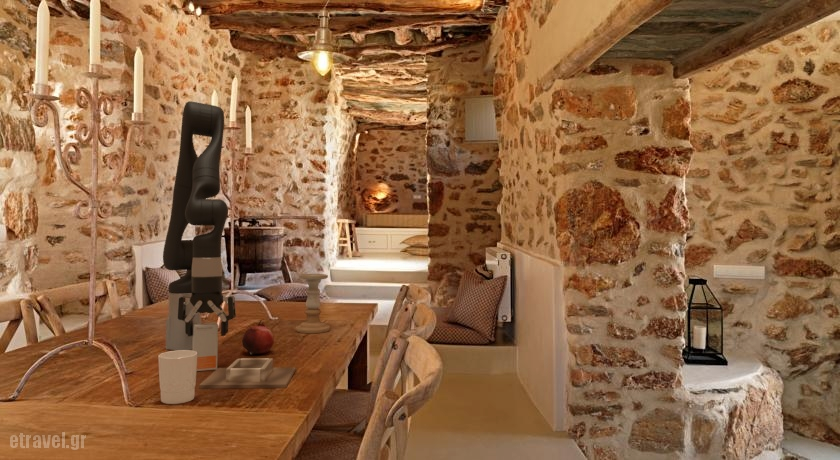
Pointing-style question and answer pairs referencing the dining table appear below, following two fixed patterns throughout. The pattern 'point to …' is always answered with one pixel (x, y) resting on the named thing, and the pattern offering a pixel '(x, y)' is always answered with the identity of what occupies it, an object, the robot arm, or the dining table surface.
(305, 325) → the candle holder
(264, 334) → the fruit
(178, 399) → the white cup
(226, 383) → the socket board
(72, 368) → the dining table surface
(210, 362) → the skincare box
